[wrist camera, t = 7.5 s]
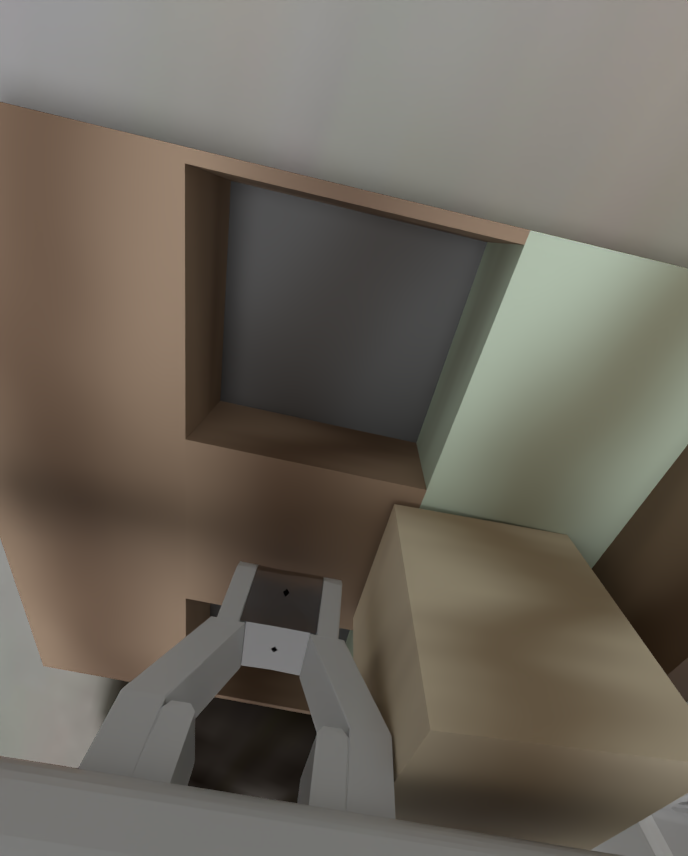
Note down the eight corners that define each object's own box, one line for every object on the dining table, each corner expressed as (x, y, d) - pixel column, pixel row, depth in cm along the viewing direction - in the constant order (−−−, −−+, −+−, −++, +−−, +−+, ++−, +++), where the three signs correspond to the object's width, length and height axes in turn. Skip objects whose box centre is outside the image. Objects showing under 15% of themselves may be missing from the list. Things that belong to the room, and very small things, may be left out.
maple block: (567, 534, 10) (731, 767, 6) (495, 639, 13) (572, 860, 8) (394, 504, 10) (430, 729, 5) (353, 618, 12) (354, 839, 8)
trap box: (720, 287, 10) (1135, 351, 4) (464, 672, 19) (501, 845, 13) (-4, 113, 9) (-543, -60, 4) (91, 602, 18) (-25, 756, 13)
